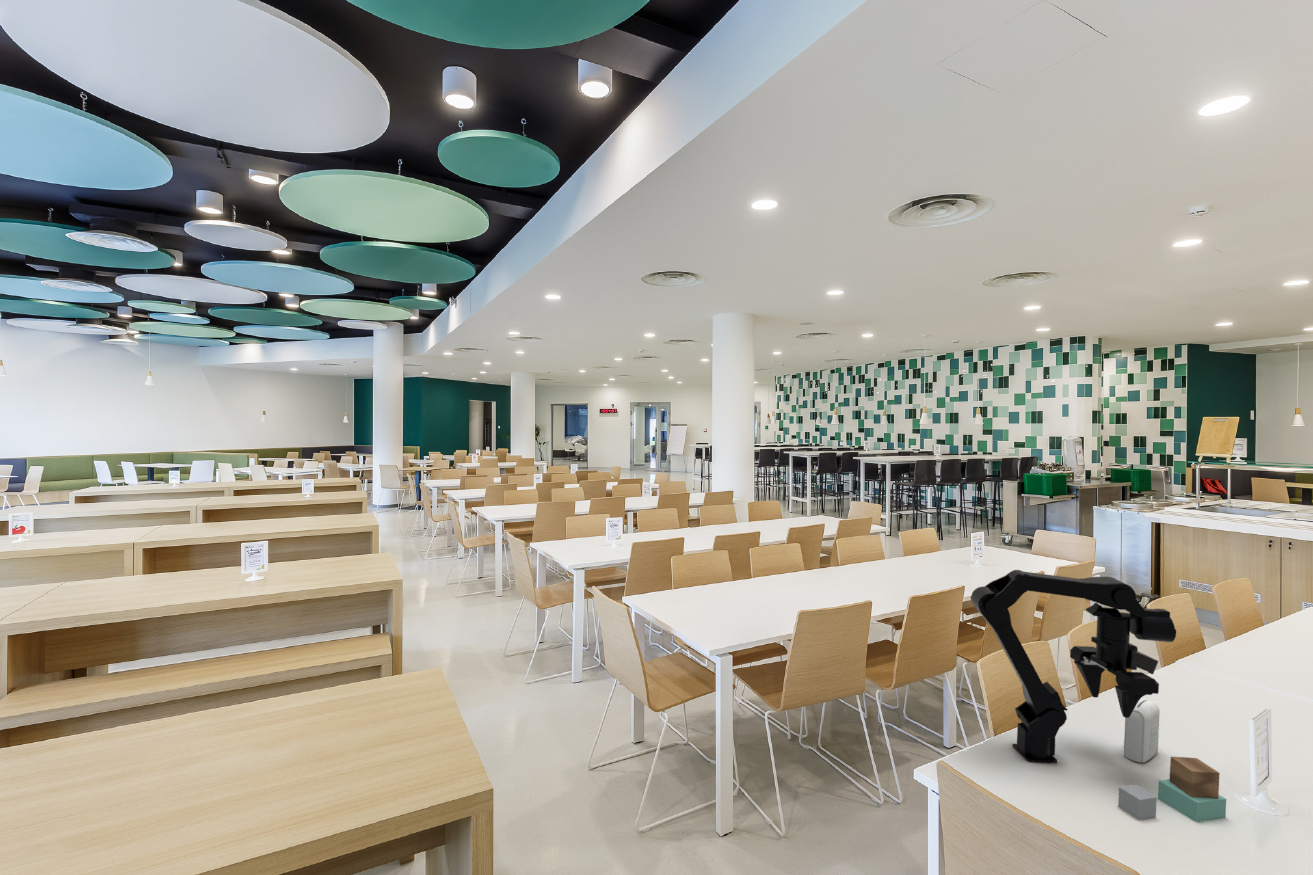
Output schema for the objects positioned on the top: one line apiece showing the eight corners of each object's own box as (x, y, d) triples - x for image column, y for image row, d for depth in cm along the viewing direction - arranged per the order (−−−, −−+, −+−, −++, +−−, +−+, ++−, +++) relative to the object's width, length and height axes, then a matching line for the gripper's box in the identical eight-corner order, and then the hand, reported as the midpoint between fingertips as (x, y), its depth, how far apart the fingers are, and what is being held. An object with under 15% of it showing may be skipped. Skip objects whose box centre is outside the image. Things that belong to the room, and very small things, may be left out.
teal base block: (1196, 823, 110) (1197, 802, 110) (1157, 799, 117) (1158, 780, 117) (1225, 819, 112) (1226, 798, 111) (1185, 796, 118) (1186, 776, 118)
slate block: (1139, 820, 110) (1140, 799, 110) (1118, 807, 114) (1119, 786, 114) (1155, 817, 111) (1156, 797, 111) (1134, 804, 115) (1135, 784, 115)
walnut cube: (1190, 796, 112) (1192, 771, 112) (1169, 780, 117) (1170, 756, 117) (1218, 798, 111) (1219, 772, 111) (1195, 782, 116) (1196, 757, 116)
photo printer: (1137, 743, 138) (1139, 691, 137) (1160, 752, 134) (1162, 699, 134) (1120, 756, 132) (1122, 702, 132) (1144, 766, 128) (1146, 710, 128)
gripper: (1187, 654, 118) (1184, 730, 118) (1118, 623, 137) (1115, 688, 137) (1131, 652, 119) (1128, 728, 119) (1069, 621, 137) (1067, 687, 138)
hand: (1110, 706), depth 128 cm, fingers open, 9 cm apart
